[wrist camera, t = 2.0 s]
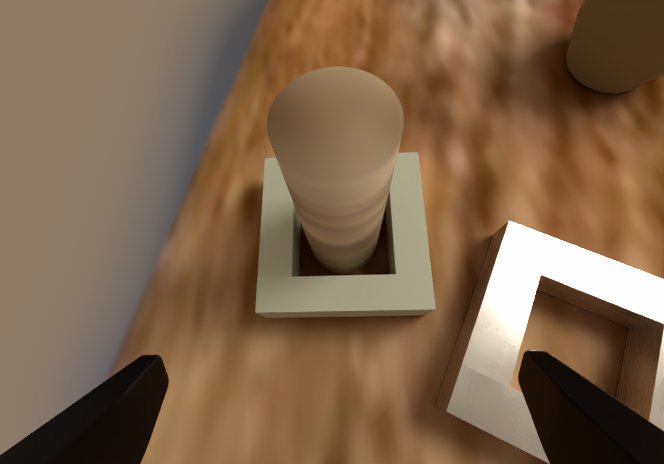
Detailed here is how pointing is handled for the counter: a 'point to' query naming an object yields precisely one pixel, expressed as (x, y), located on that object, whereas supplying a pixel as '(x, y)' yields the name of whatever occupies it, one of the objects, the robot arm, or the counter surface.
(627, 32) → the squeeze bottle
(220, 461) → the counter surface
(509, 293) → the socket block
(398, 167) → the collar
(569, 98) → the counter surface
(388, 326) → the counter surface
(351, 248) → the tan rounded peg
